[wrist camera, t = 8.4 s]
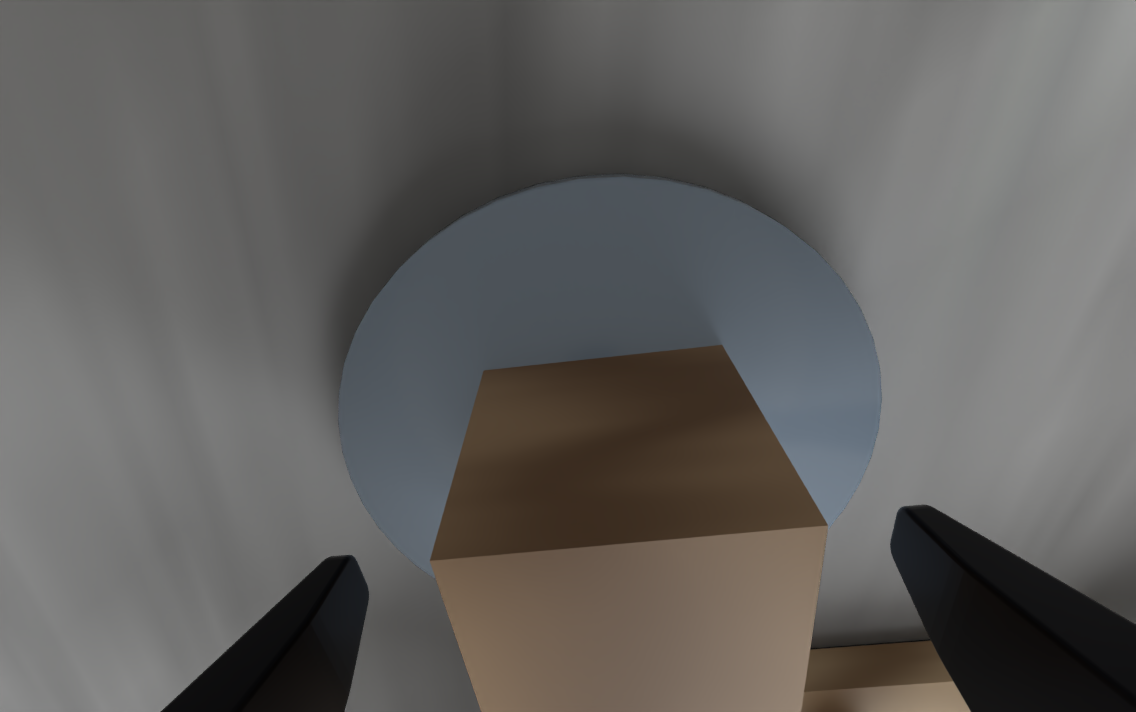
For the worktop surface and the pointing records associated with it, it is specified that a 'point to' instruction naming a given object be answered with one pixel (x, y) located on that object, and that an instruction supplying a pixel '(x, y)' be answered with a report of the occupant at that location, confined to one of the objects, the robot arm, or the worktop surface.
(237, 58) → the worktop surface
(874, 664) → the balance
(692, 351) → the block
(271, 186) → the worktop surface
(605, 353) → the dish
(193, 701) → the robot arm
